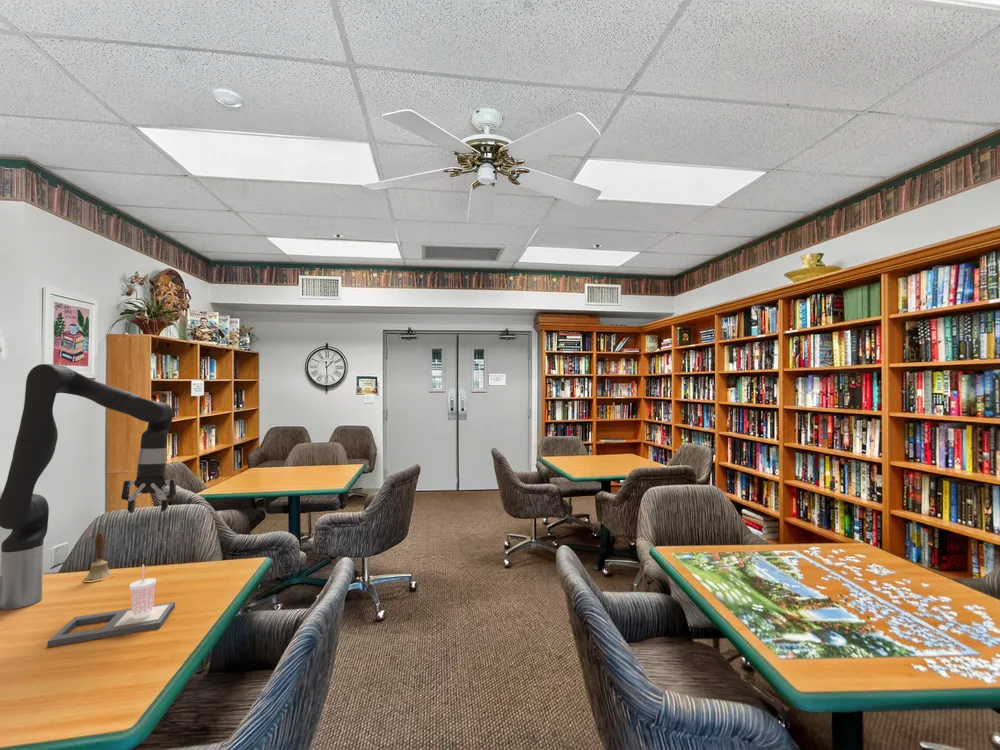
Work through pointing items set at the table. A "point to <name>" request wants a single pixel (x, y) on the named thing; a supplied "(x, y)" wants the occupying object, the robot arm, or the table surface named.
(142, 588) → the beverage cup
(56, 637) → the hole board
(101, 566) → the hand bell
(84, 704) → the table surface
